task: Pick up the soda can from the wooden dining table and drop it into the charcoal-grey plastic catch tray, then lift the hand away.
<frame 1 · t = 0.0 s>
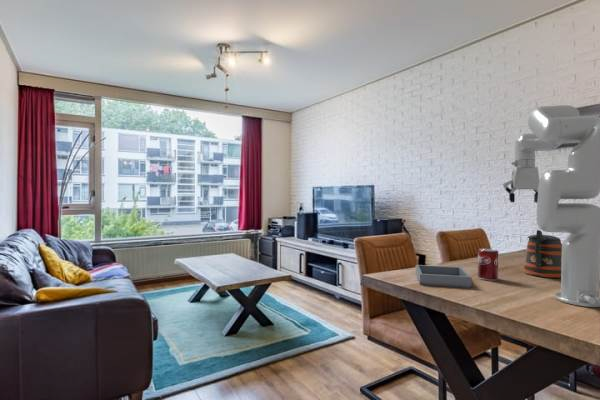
hand: (524, 202, 151), 31 cm above the table, tool pointing down, fingers open, 9 cm apart
soda can: (487, 279, 137), on the table
catch tray: (441, 280, 134), on the table
beer stein: (543, 276, 144), on the table
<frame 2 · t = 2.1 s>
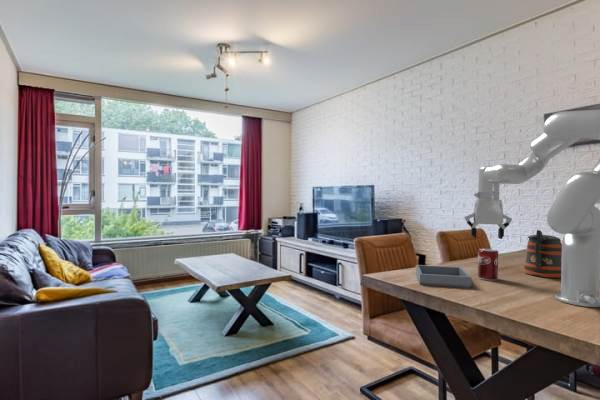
hand: (487, 237, 137), 17 cm above the table, tool pointing down, fingers open, 9 cm apart
nothing on the table moved.
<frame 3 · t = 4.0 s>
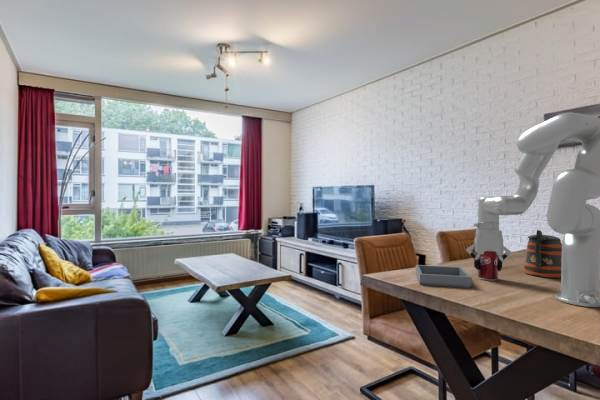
hand: (487, 269, 137), 4 cm above the table, tool pointing down, fingers closed on soda can, 7 cm apart
soda can: (487, 279, 137), on the table, touching gripper
everything else where it was.
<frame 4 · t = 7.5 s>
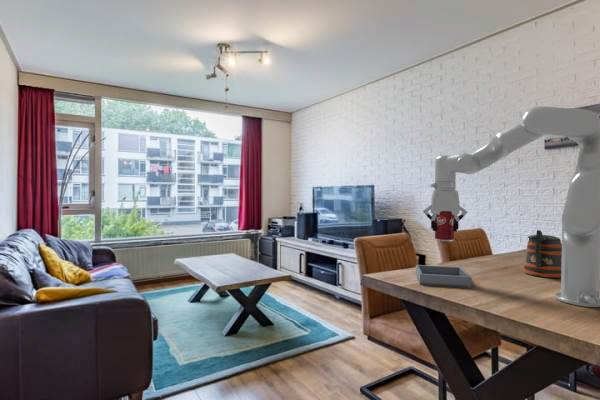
hand: (444, 230, 134), 20 cm above the table, tool pointing down, fingers closed on soda can, 7 cm apart
soda can: (444, 240, 134), point 16 cm above the table, touching gripper
everything else where it was.
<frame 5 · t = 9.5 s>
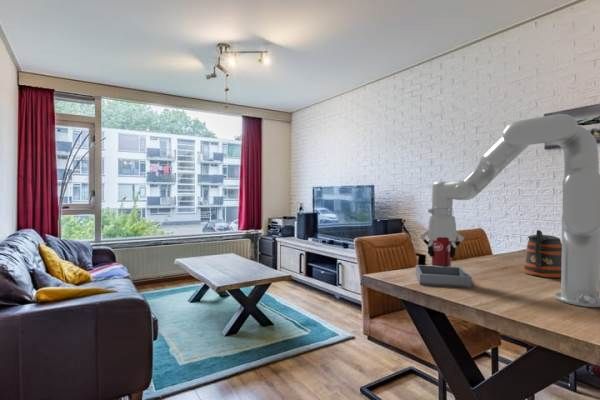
hand: (441, 256, 134), 10 cm above the table, tool pointing down, fingers closed on soda can, 7 cm apart
soda can: (441, 266, 134), point 6 cm above the table, touching gripper
everything else where it was.
when the fingers open (6 cm above the table, at t = 11.2 s): soda can drops 1 cm, resting on catch tray.
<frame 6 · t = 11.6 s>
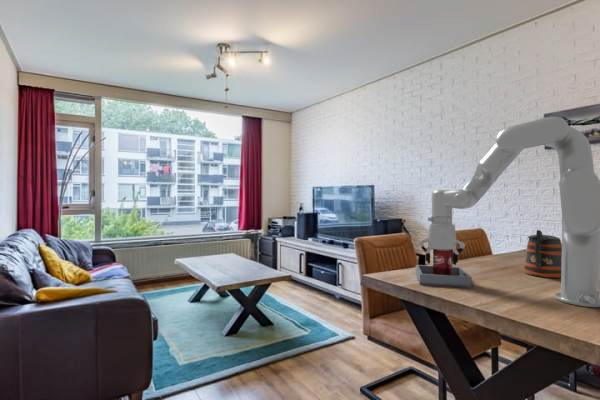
hand: (441, 263, 134), 7 cm above the table, tool pointing down, fingers open, 9 cm apart
soda can: (442, 279, 134), point 1 cm above the table, touching catch tray
everything else where it was.
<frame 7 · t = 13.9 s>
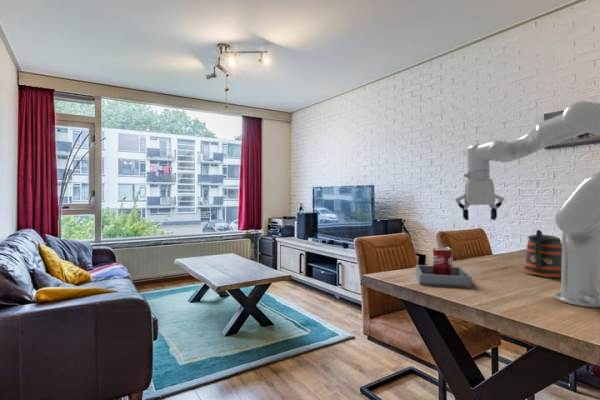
hand: (479, 219, 131), 25 cm above the table, tool pointing down, fingers open, 9 cm apart
nothing on the table moved.
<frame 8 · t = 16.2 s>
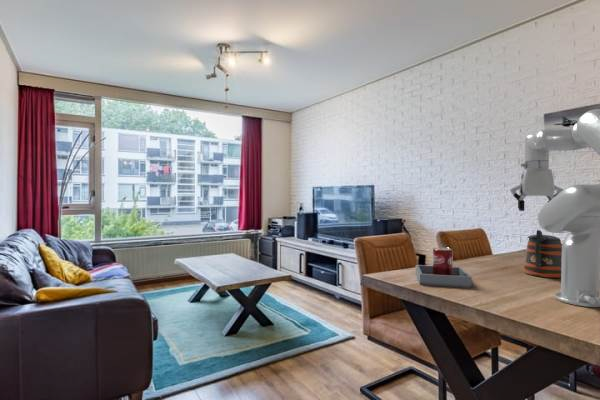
hand: (535, 210, 128), 28 cm above the table, tool pointing down, fingers open, 9 cm apart
nothing on the table moved.
at the end: soda can inside the target area on the catch tray (0.4 cm from its centre), point 0.6 cm above the catch tray's base; soda can tilted 0°; the gripper is holding nothing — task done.
